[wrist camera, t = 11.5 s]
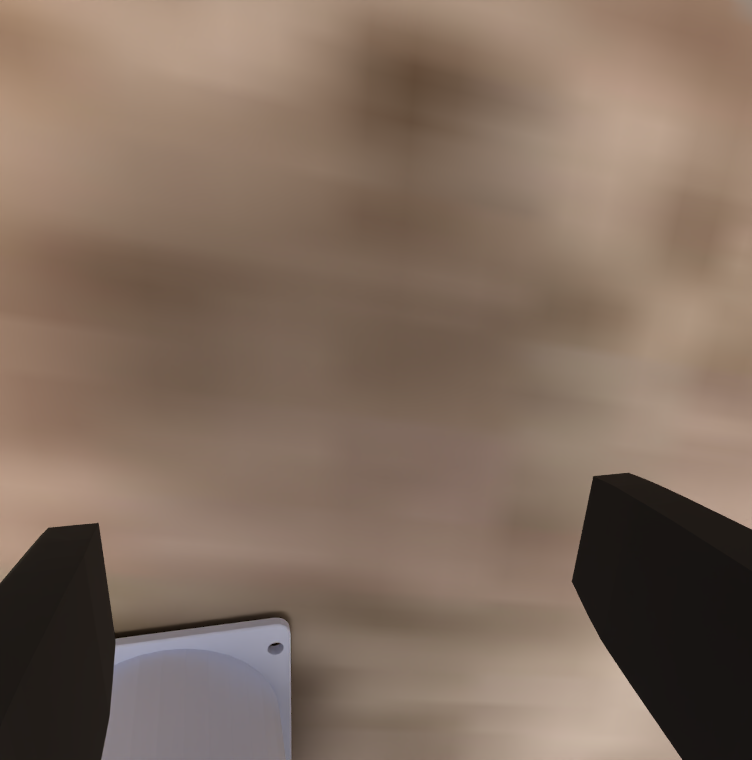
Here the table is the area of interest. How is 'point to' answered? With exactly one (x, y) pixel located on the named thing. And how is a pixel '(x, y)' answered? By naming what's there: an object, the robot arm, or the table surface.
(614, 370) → the table surface
